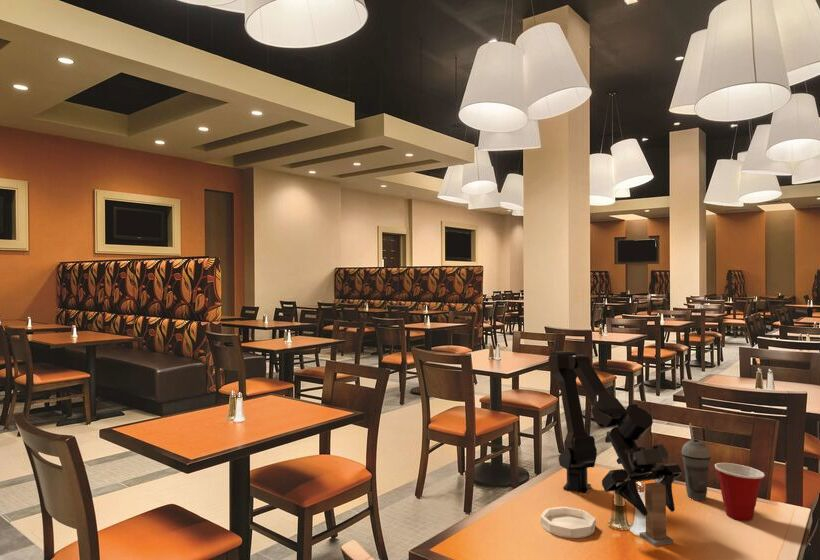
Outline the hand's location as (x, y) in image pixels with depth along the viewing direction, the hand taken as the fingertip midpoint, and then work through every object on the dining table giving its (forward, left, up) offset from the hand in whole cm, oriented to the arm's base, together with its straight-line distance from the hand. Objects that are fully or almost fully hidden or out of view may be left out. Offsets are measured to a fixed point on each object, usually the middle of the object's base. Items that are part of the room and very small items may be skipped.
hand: (659, 512), depth 124 cm
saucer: (+2, -20, -7) cm, 21 cm away
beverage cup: (-32, +6, -7) cm, 33 cm away
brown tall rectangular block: (-1, -1, -7) cm, 7 cm away
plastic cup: (-24, +16, -7) cm, 30 cm away
